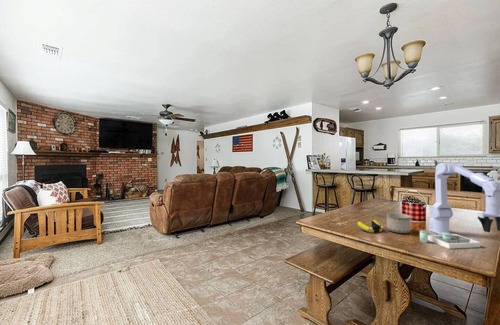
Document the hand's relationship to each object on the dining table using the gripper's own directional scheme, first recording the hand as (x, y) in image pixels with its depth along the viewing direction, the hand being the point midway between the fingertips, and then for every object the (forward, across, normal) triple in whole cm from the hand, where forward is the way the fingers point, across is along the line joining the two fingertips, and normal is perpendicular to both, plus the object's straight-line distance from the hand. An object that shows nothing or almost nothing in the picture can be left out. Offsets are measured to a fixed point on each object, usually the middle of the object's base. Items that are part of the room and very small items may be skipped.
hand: (493, 231), depth 113 cm
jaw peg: (+10, -23, +16) cm, 30 cm away
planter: (+10, -24, +34) cm, 43 cm away
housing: (+10, -10, +12) cm, 18 cm away
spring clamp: (+10, -40, +38) cm, 56 cm away
